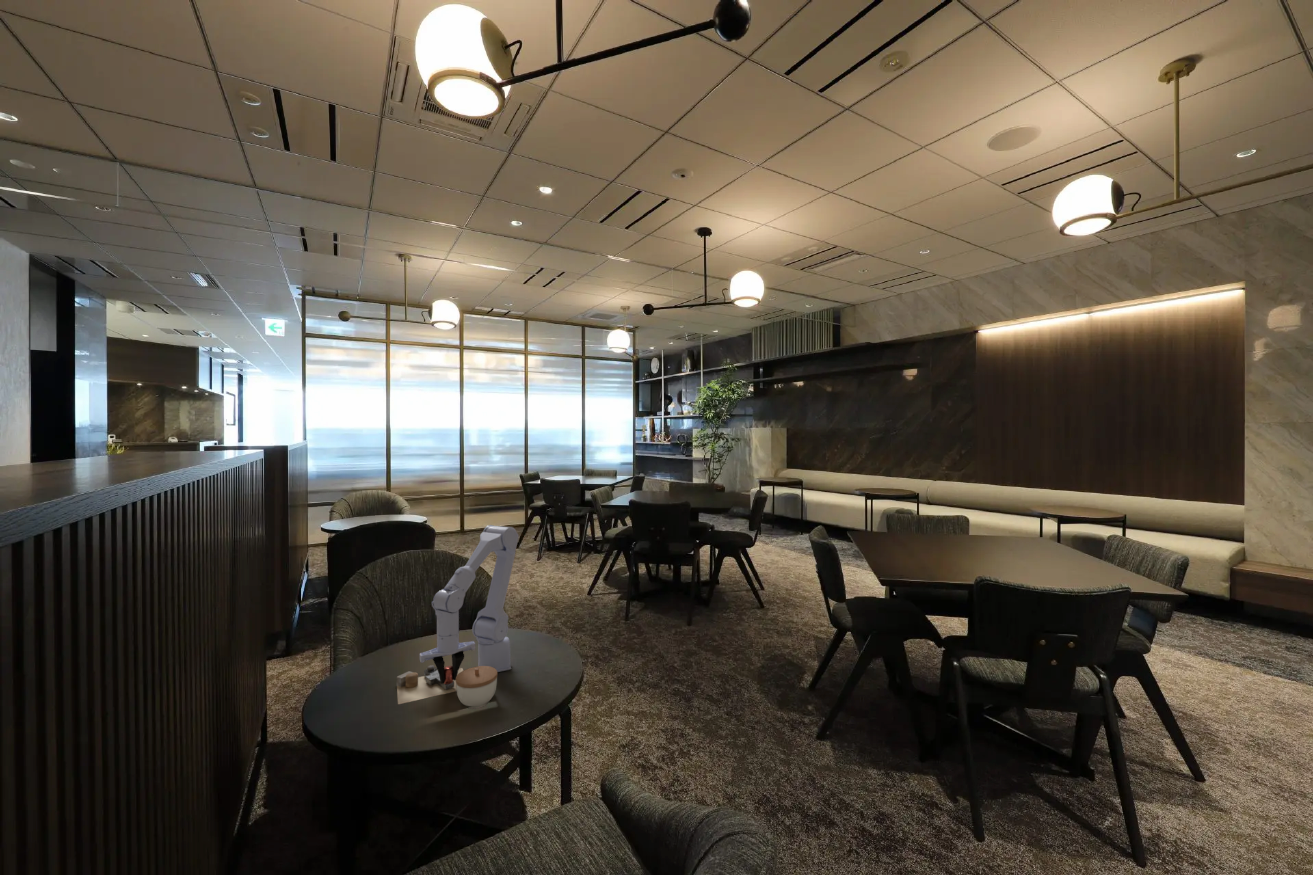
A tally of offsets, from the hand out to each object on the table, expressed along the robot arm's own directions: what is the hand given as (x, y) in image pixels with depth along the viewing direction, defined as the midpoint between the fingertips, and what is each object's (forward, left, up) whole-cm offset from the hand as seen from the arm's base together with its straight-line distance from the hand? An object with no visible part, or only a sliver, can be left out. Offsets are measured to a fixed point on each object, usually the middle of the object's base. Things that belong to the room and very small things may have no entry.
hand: (448, 680), depth 144 cm
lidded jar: (-6, +10, -4) cm, 12 cm away
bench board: (+4, -4, -3) cm, 7 cm away
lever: (+2, -5, -2) cm, 6 cm away
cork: (+9, -7, -2) cm, 12 cm away
